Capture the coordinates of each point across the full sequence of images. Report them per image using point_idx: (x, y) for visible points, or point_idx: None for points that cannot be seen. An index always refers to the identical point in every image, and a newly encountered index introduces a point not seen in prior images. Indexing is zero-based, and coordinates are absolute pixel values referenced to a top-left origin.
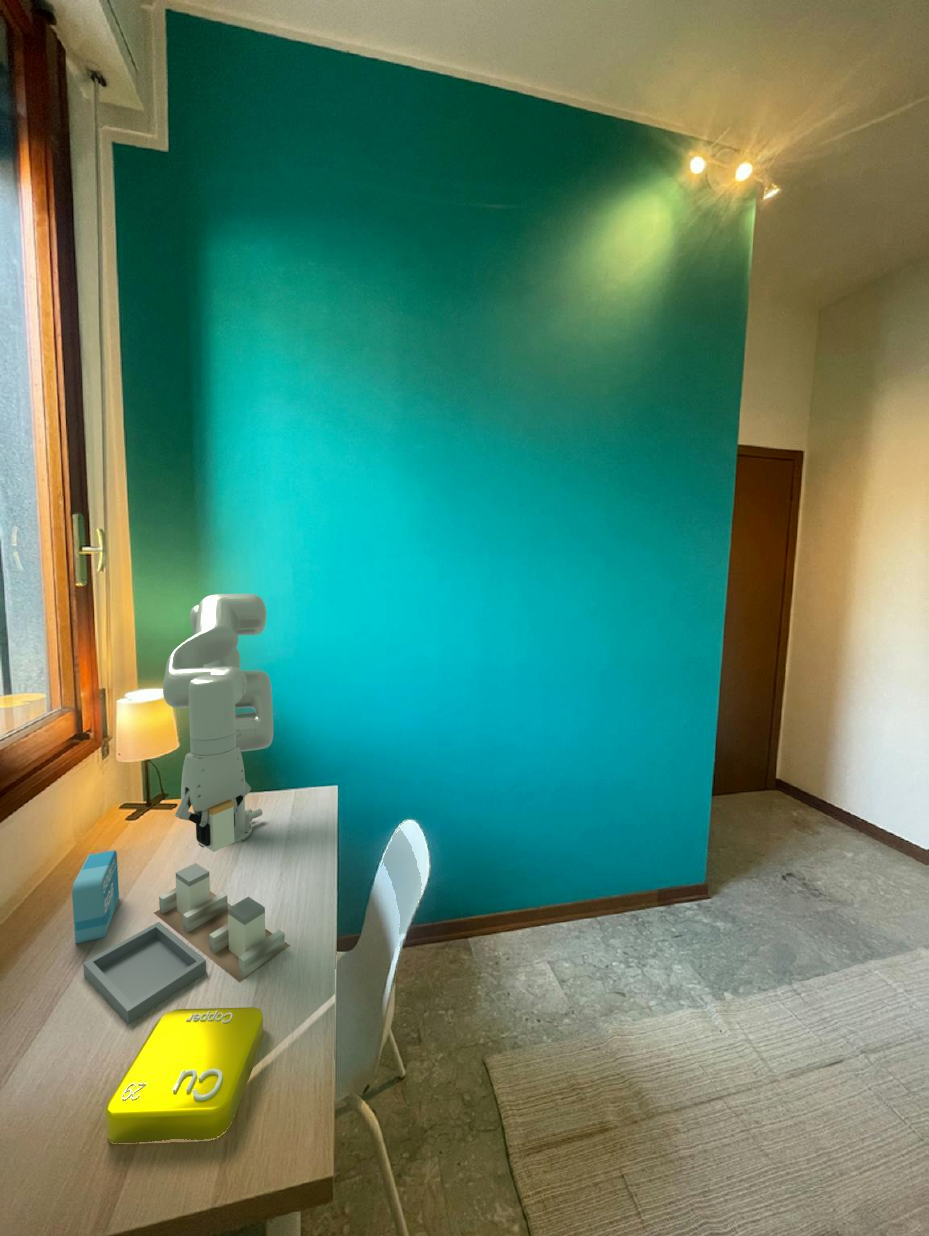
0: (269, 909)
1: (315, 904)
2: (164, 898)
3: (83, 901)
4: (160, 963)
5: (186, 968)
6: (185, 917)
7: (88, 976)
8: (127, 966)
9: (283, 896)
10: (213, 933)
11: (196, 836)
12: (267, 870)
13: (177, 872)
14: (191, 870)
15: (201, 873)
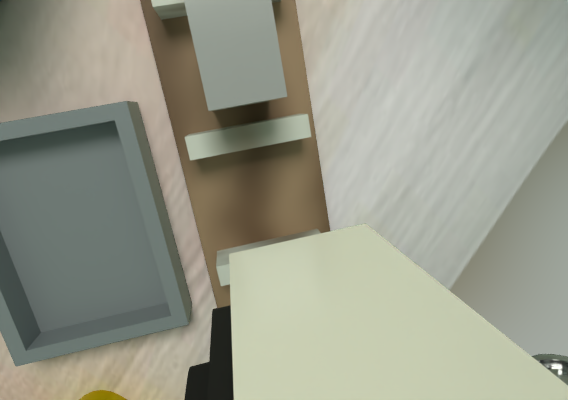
0: (375, 192)
1: (452, 246)
2: (158, 5)
3: None
4: (114, 221)
5: (146, 323)
6: (188, 151)
7: None
8: (45, 179)
9: (422, 169)
10: (226, 268)
11: (189, 379)
12: (455, 23)
13: (190, 5)
14: (239, 33)
15: (261, 86)
